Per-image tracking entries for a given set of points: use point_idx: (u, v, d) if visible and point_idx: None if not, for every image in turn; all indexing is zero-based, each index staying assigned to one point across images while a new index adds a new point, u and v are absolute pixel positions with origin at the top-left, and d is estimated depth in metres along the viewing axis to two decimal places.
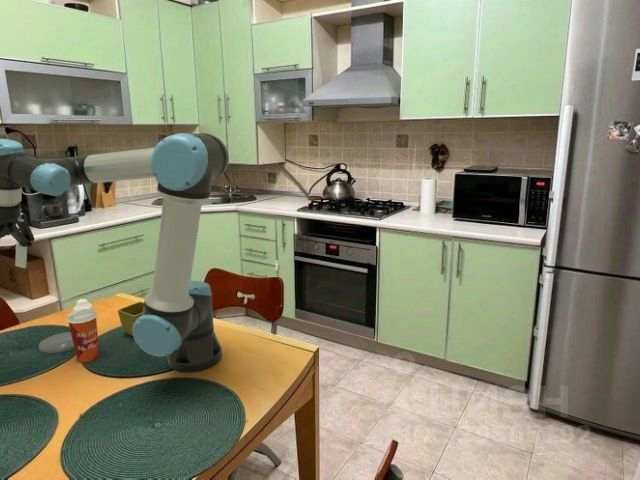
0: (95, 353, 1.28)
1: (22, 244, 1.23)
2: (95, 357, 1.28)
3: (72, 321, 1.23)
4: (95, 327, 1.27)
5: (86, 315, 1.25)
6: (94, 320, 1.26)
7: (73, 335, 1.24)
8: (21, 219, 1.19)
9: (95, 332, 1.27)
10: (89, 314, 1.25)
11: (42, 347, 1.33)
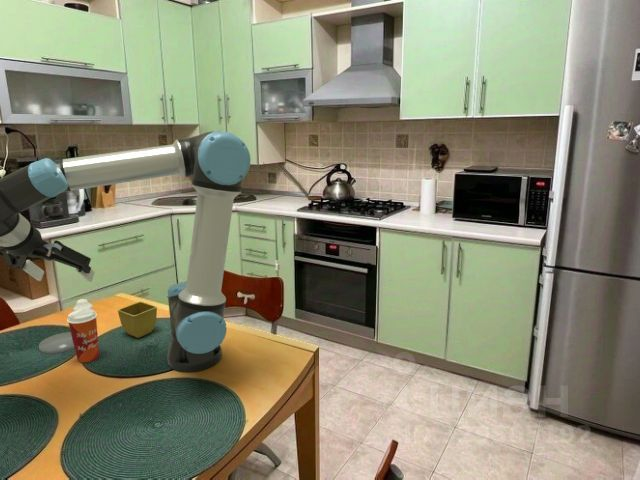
0: (95, 353, 1.28)
1: (24, 264, 1.10)
2: (95, 357, 1.28)
3: (72, 321, 1.23)
4: (95, 327, 1.27)
5: (86, 315, 1.25)
6: (94, 320, 1.26)
7: (73, 335, 1.24)
8: None
9: (95, 332, 1.27)
10: (89, 314, 1.25)
11: (42, 347, 1.33)
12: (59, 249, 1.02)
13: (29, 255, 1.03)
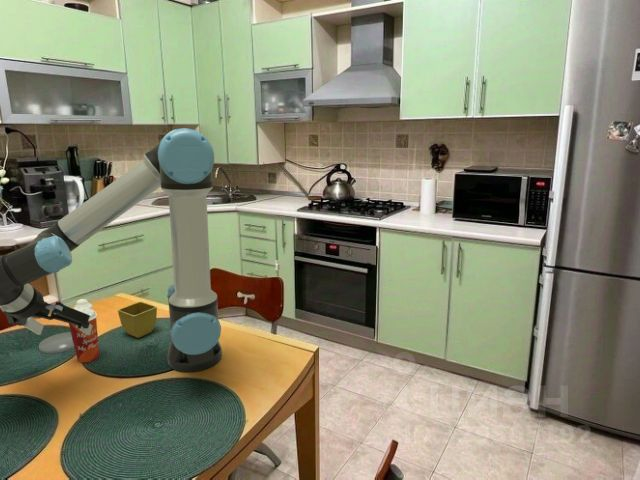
0: (95, 353, 1.28)
1: (25, 320, 1.15)
2: (95, 357, 1.28)
3: None
4: (95, 327, 1.27)
5: None
6: (94, 320, 1.26)
7: (73, 335, 1.24)
8: None
9: (95, 332, 1.27)
10: (89, 314, 1.25)
11: (42, 347, 1.33)
12: (60, 310, 1.08)
13: (31, 315, 1.09)
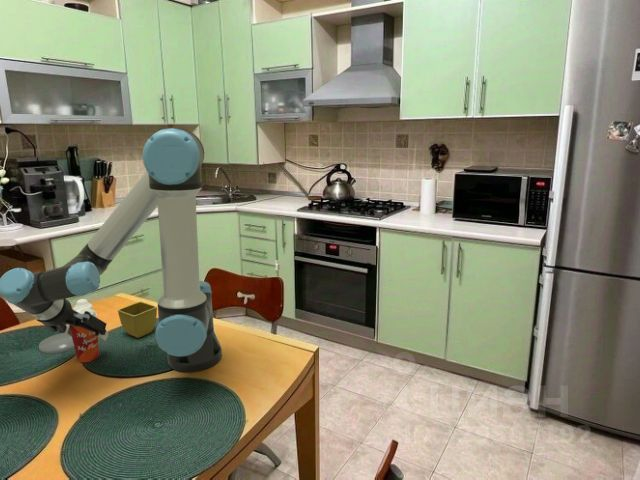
0: (95, 353, 1.28)
1: (65, 328, 1.26)
2: (95, 357, 1.28)
3: None
4: None
5: None
6: None
7: (73, 335, 1.24)
8: None
9: None
10: None
11: (42, 347, 1.33)
12: (88, 319, 1.18)
13: None
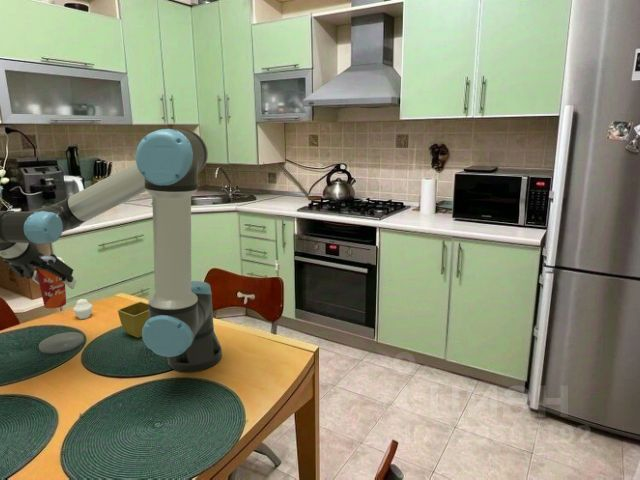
0: (62, 300, 1.30)
1: (32, 274, 1.28)
2: (62, 304, 1.31)
3: None
4: None
5: None
6: None
7: (40, 280, 1.27)
8: None
9: None
10: None
11: (42, 347, 1.33)
12: (54, 261, 1.20)
13: (26, 264, 1.21)
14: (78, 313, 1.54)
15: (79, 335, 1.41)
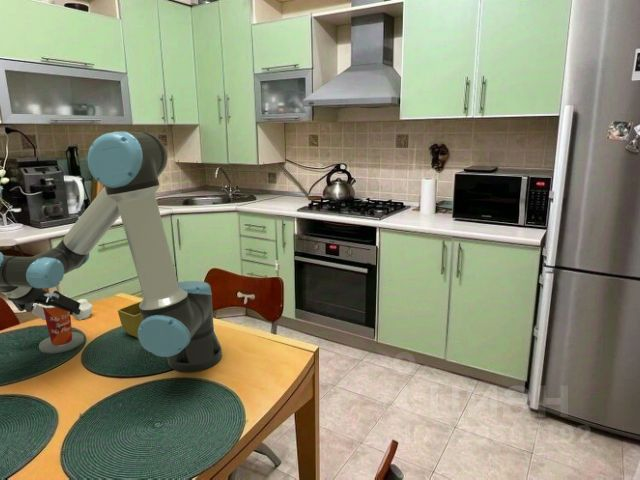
0: (68, 337, 1.36)
1: (32, 307, 1.33)
2: (68, 340, 1.36)
3: None
4: None
5: None
6: None
7: (47, 319, 1.32)
8: None
9: (68, 316, 1.35)
10: None
11: (42, 347, 1.33)
12: (57, 298, 1.25)
13: (32, 301, 1.26)
14: None
15: (79, 335, 1.41)
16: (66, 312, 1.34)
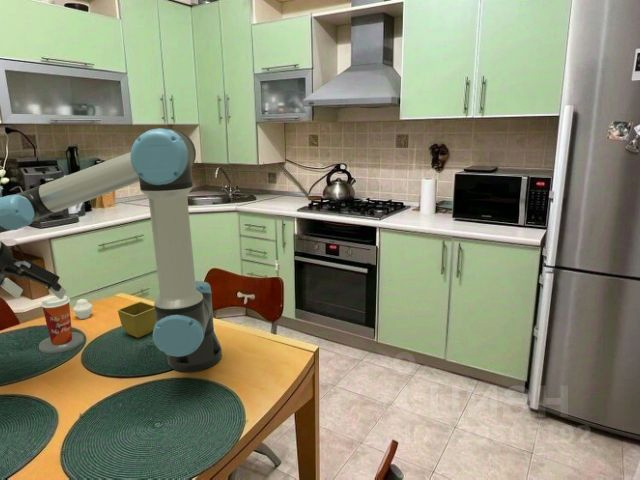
0: (68, 337, 1.36)
1: (2, 281, 1.20)
2: (68, 340, 1.36)
3: (45, 305, 1.31)
4: (68, 312, 1.35)
5: (59, 300, 1.32)
6: (67, 305, 1.34)
7: (47, 319, 1.32)
8: None
9: (68, 316, 1.35)
10: (62, 299, 1.33)
11: (42, 347, 1.33)
12: (27, 266, 1.11)
13: (3, 272, 1.13)
14: (78, 313, 1.54)
15: (79, 335, 1.41)
16: (66, 312, 1.34)
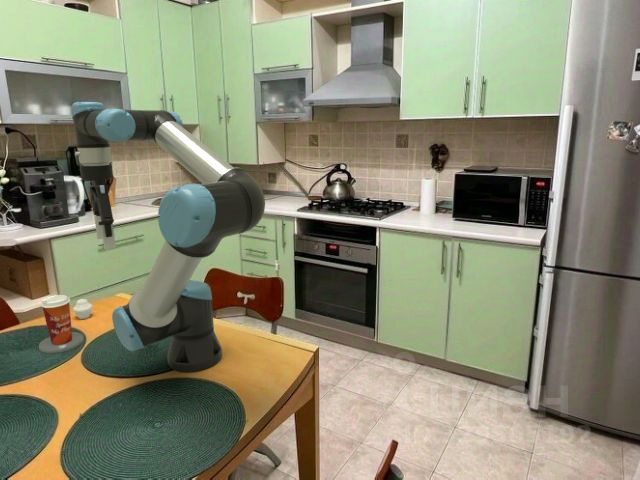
0: (68, 337, 1.36)
1: (99, 214, 1.24)
2: (68, 340, 1.36)
3: (45, 305, 1.31)
4: (68, 312, 1.35)
5: (59, 300, 1.32)
6: (67, 305, 1.34)
7: (47, 319, 1.32)
8: None
9: (68, 316, 1.35)
10: (62, 299, 1.33)
11: (42, 347, 1.33)
12: (100, 190, 1.11)
13: None
14: (78, 313, 1.54)
15: (79, 335, 1.41)
16: (66, 312, 1.34)
